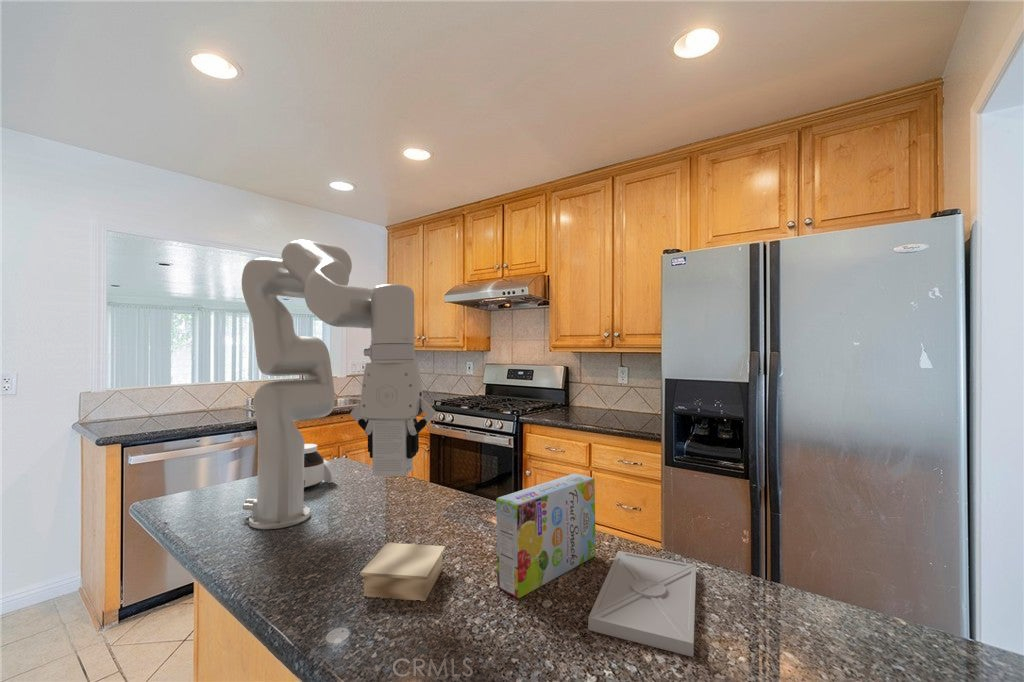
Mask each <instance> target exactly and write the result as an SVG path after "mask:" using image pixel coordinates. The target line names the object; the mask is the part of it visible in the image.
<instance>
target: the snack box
mask: <svg viewBox="0 0 1024 682" xmlns="http://www.w3.org/2000/svg"><path fill="white" fill-rule="evenodd" d="M595 480H596V479H595V477H591V476H589V475H588V476H587V475H584V474H579V473H575V472H574V473H571V474H568V475H564V476H562V477H558V478H556V479H551V480H550V481H545V482H543V483H540V484H537V485H533V486H531V487H527V488H523V489H521V490H518V491H514V492H512V493H507V494H506V495H502V496H498V497H497V498H496V507H495V508H496V573H497V576H496V578H497V579H496V580H497V589H500V590H501V591H504V592H505V593H507V594H510V595H511V596H513V597H515V598H517V599H521V598H522V597H525V595H528V594H529V593H532V592H533V591H535V590H537V589H538V588H540V587H542V586H544V585H545V584H547V583H549V582H552V581H553V580H554V579H557V578H558V577H560V576H562V575H564V574H566V573H567V572H570V571H571V570H573V569H574V568H576V567H578V566H580V565H582V564H584V563H585V562H587V561H590V560H591V559H594V558H595V557H596V556H597V545H596V542H597V538H596V535H597V534H596V495H595V494H596V491H595V490H596V488H595V485H596V484H595Z"/></svg>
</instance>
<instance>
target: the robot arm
mask: <svg viewBox="0 0 1024 682" xmlns="http://www.w3.org/2000/svg"><path fill="white" fill-rule="evenodd" d="M352 266H353V264H352V259H351V256H350V255H349V253H348V252H347V251H346V250H345V249H344V248H342V247H340V246H336V245H332V244H327V243H323V242H318V241H312V240H307V239H298V240H297V239H296V240H293V241H290V242H289V243H287V244H286V245H285V246H284V247H283V249H282V252H281V259H280V258H272V257H257V258H253V259H251V260H249V261H248V262H247V263H246V264H245V265H244V267H243V270H242V275H241V290H242V295H243V299H244V301H245V304H246V307H247V309H248V311H249V314H250V318H251V322H252V329H253V339H254V349H255V356H256V357H255V358H256V362H257V366H258V369H259V371H260V373H262V374H263V375H265V376H269V377H271V376H272V377H284V376H285V377H286V376H287V377H289V376H290V377H291V376H303V377H304V379H294V380H291V379H290V380H278V381H277V380H274V381H271V382H267V383H265V384H262V385H261V386H259V387H258V388H257V390H256V391H255V393H254V396H253V409H254V414H255V420H256V427H257V486H256V487H257V489H256V491H257V492H256V494H257V495H256V498H246V499H245V501H244V504H243V505H242V510H243V511H251V513H252V514H251V515H250V516H249V518H248V525H249V526H250V527H252V528H254V529H258V530H273V529H274V530H275V529H283V528H288V527H292V526H294V525H295V526H296V525H299V524H301V523H303V522H305V521H306V520H308V519H309V518H310V516H311V512H312V511H311V508H310V507H309V506H306V505H305V503H304V500H305V497H304V496H305V495H304V494H305V493H304V492H305V491H304V444H305V438H304V436H303V434H302V432H301V431H300V430H299V428H297V426H296V424H295V422H299V421H307V420H313V419H319V418H325V417H327V416H328V415H330V414H331V413H332V412H333V410H334V408H335V401H336V395H335V385H334V378H333V370H332V363H331V357H330V352H329V349H328V347H327V345H326V344H325V342H324V341H323V340H322V339H320V338H319V337H316V336H303V335H301V336H299V335H297V333H295V329H294V320H293V316H292V314H291V312H290V311H289V310H288V308H287V307H286V306H285V304H283V302H281V300H280V299H279V298H278V296H280V297H288V298H289V297H290V298H297V299H298V298H300V299H304V301H305V304H306V306H307V308H308V310H309V311H310V312H311V313H312V314H314V316H316V317H317V318H318V319H319V320H320V321H322V322H323V323H325V324H327V325H328V326H332V327H337V328H356V329H357V328H359V329H370V344H369V347H368V348H364V349H363V355H364V356H365V357H369V360H370V362H366V363H365V367H364V371H363V377H362V385H361V394H360V402H359V403H358V404H357V405H356V406H355V407H354V408H353V409H352V410H351V411H350V413H349V415H350V417H352V419H353V420H354V421H355V422H357V423H358V426H359V427H360V428H361V429H362V430H363V431H364V434H365V435H367V452H368V453H369V458H370V459H373V426H372V420H406V425H407V427H408V430H409V435H408V436H407V458H408V459H411V458H413V459H414V457H416V456H417V453H419V445H420V441H419V440H420V439H419V438H420V437H419V433H421V431H422V430H423V429H425V427H426V426H427V425H428V424H429V423H430V422H431V421H432V420H433V419H434V418H435V417H436V416H437V411H436V410H435V409H434V408H433V407H432V405H430V404H429V403H428V402H427V401H426V400H425V399H424V394H423V383H422V376H421V369H420V365H419V362H417V361H416V359H415V356H416V354H415V353H416V352H415V342H416V341H415V338H416V337H415V293H414V290H413V289H412V288H411V287H410V286H408V285H403V284H396V283H395V284H394V283H393V284H392V283H389V284H388V283H387V284H385V283H384V284H378V285H376V286H374V287H373V288H368V287H367V288H366V287H358V286H353V285H349V281H350V275H351V272H352V268H353V267H352ZM423 413H424V416H423V417H422V418H421V419H420V420H418V417H419V416H421V415H422V414H423Z"/></svg>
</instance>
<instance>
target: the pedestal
mask: <svg viewBox="0 0 1024 682" xmlns="http://www.w3.org/2000/svg"><path fill="white" fill-rule="evenodd" d="M445 550H446V546H445V545H434V544H433V545H432V544H431V545H430V544H417V543H415V544H414V543H399V542H398V543H396V542H386V544H384V545H383V547H382V548H381V549H380V550H379V551H378V552H377V554H376V555H375V556H374V557H373V558H372V559H371V560H370V561H369V563H368V564H366V566H365V567H364V568H363V569H362V570H361V571H360V574H359V575H360V576H361V577H362V576H363V597H364V596H367V597H366V598H376V597H378V598H379V597H380V598H379V599H389V598H392V599H393V600H404V601H406V600H407V601H416V600H420V602H426V600H427V598H428V597H429V595H430V592H431V591H432V590H433V587H434V585H435V584H436V582H437V580H438V578H439V576H440V575H441V573H442V570H443V553H444V552H445ZM368 596H369V597H368ZM378 598H377V599H378ZM392 599H391V600H392Z"/></svg>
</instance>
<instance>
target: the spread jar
mask: <svg viewBox="0 0 1024 682" xmlns="http://www.w3.org/2000/svg"><path fill="white" fill-rule="evenodd" d="M336 477H337V476H336V471H335V469H334V467H333V466H332V464H331V463H330V462H329V461H328V460H326V459H324V458H323V456H322V455H321V453H319V452H318V444H315V443H304V492H308V491H307V490H309V491H312V490H315V489H317V487H319V486H320V485H321V484H322V482H323V481H324V483H327V482H328V483H327V484H330V483H333V482H334V481H335V480H336ZM314 488H315V489H314ZM311 489H312V490H311Z"/></svg>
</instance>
